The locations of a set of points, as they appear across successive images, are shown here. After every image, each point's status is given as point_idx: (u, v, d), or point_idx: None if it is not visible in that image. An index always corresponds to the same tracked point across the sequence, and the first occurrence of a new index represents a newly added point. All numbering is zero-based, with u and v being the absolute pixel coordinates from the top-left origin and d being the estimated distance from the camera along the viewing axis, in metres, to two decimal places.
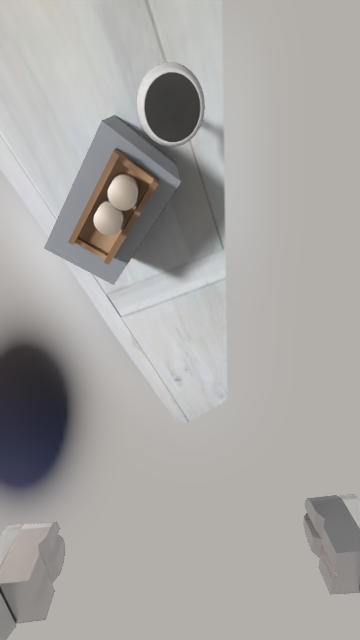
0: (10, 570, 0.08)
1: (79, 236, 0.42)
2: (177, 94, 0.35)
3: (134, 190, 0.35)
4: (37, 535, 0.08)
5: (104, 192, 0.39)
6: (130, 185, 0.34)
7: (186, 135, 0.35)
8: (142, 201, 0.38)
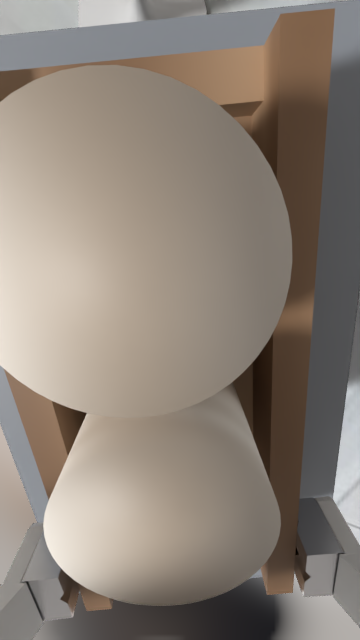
0: (38, 567, 0.08)
1: None
2: None
3: (199, 115, 0.03)
4: None
5: None
6: (118, 93, 0.02)
7: None
8: None
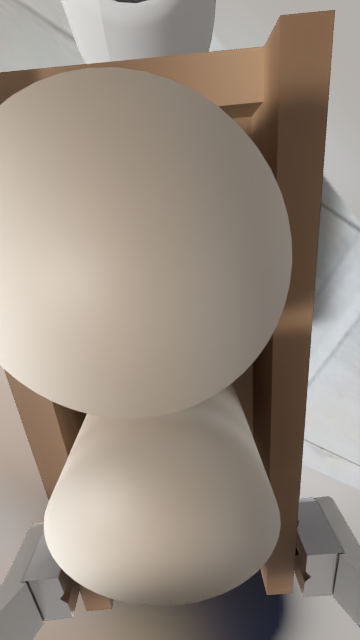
0: (38, 567, 0.08)
1: None
2: None
3: (199, 117, 0.03)
4: None
5: None
6: (119, 95, 0.02)
7: None
8: None
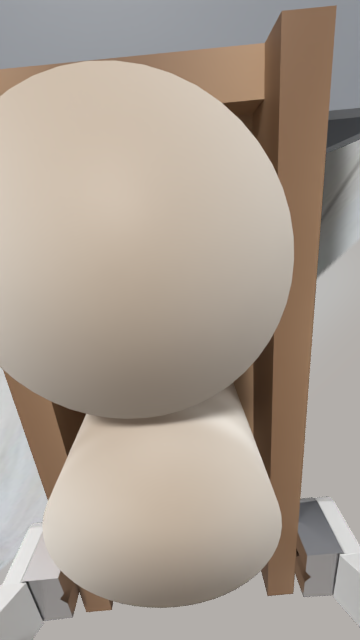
0: (38, 567, 0.08)
1: None
2: None
3: (199, 111, 0.02)
4: None
5: None
6: (118, 89, 0.02)
7: None
8: None
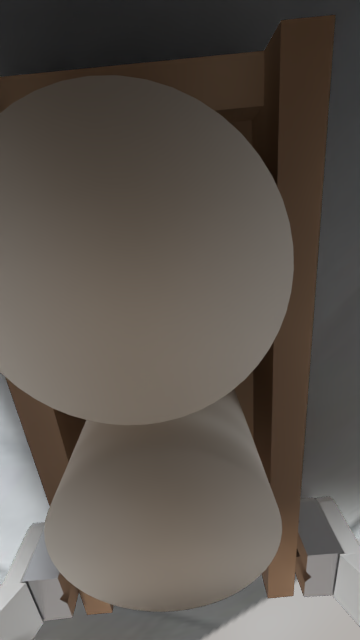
0: (38, 567, 0.08)
1: None
2: None
3: (200, 124, 0.03)
4: None
5: None
6: (120, 102, 0.02)
7: None
8: None
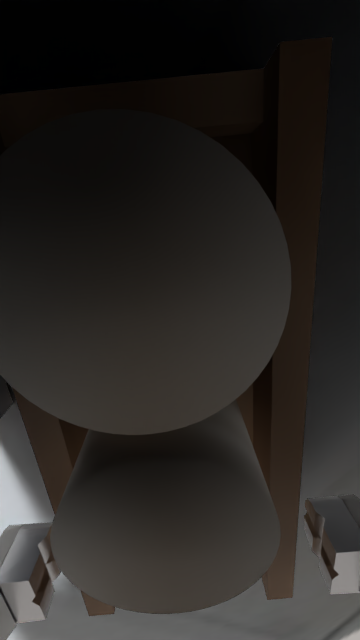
0: (10, 570, 0.08)
1: None
2: None
3: (203, 154, 0.03)
4: (37, 535, 0.08)
5: None
6: (127, 134, 0.03)
7: None
8: None
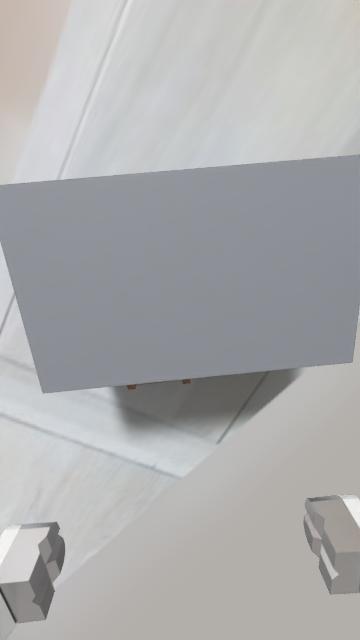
0: (10, 570, 0.08)
1: None
2: None
3: None
4: (37, 535, 0.08)
5: None
6: None
7: None
8: None
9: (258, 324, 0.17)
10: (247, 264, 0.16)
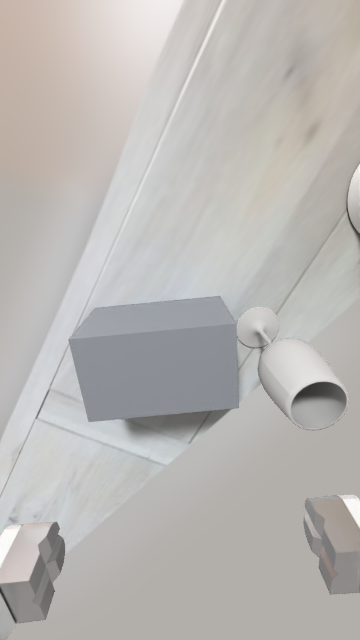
0: (10, 570, 0.08)
1: None
2: None
3: None
4: (37, 535, 0.08)
5: None
6: None
7: None
8: None
9: (190, 391, 0.36)
10: (182, 366, 0.35)
